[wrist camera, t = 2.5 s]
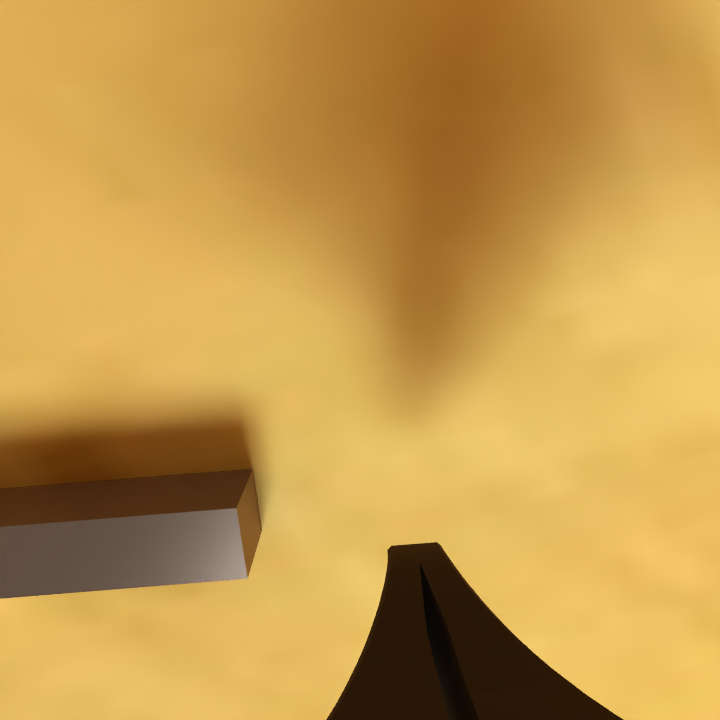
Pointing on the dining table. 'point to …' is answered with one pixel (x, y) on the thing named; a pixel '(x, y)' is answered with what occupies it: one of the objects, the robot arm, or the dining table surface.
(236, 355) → the dining table surface
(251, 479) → the plug
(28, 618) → the dining table surface
